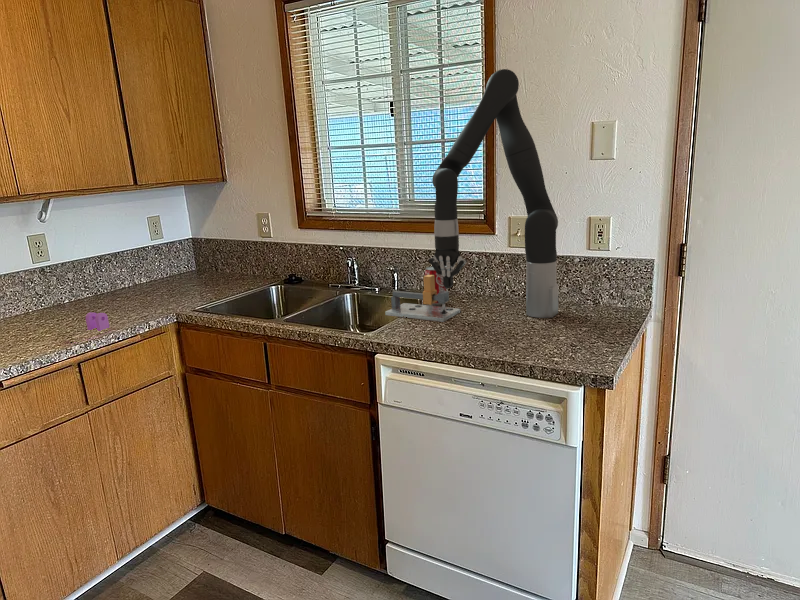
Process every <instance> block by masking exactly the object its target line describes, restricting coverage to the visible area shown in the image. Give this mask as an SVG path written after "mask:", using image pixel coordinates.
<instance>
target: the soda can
mask: <svg viewBox="0 0 800 600" xmlns="http://www.w3.org/2000/svg"><path fill="white" fill-rule="evenodd" d="M426 275H434V277H435V290H437V295H438V293H439V292H442V291H447V288H445V286H444V285H443V276H442V275H440V274H437V272H436V271H435V269H434V268H433V267H432V266H427V267H425V271H424V276H426ZM427 305H428V306H429V304H427ZM432 306H438V307H441V306H442V303H438V301H437V302H435V303H433V304H432Z"/></svg>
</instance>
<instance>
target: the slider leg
mask: <svg viewBox="0 0 800 600" xmlns="http://www.w3.org/2000/svg"><path fill="white" fill-rule="evenodd" d="M422 293H423V299H422V305H428V304H429V305H428V306H429V310H432V304H433V303H435V302H437V301H435V300H432V295H433V294H436V295H437V290H435V277H434V275H426V276H425V275H423V291H422Z"/></svg>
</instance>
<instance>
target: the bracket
mask: <svg viewBox="0 0 800 600" xmlns="http://www.w3.org/2000/svg"><path fill="white" fill-rule="evenodd" d="M85 323H86V327H87V330H92V329H94V328H97V330H98V331H101V330H103V329H106V328H109V327H110V322H109V317H108V314H107V313H105V312H98V313H97V312H91V311H90V312H88V313H86V315H85Z"/></svg>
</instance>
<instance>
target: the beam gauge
mask: <svg viewBox="0 0 800 600" xmlns="http://www.w3.org/2000/svg"><path fill="white" fill-rule="evenodd" d="M449 294H450V293H449V290H446V291H442V292H439V293H438V295H436V294H433V295H432V300H435V301H438V303H442V305H441V307H442V312H443V313H445V307H446V303H447V302H449V301H450V296H449ZM390 298H391V299H390V300H391V301H390V302H391V309H392V308H394V309H396V308H398V307H400V305H401V298H405V299H415V300H423V292H413V291H411V292H410V291H401V290H393V291H392V296H390Z"/></svg>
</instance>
